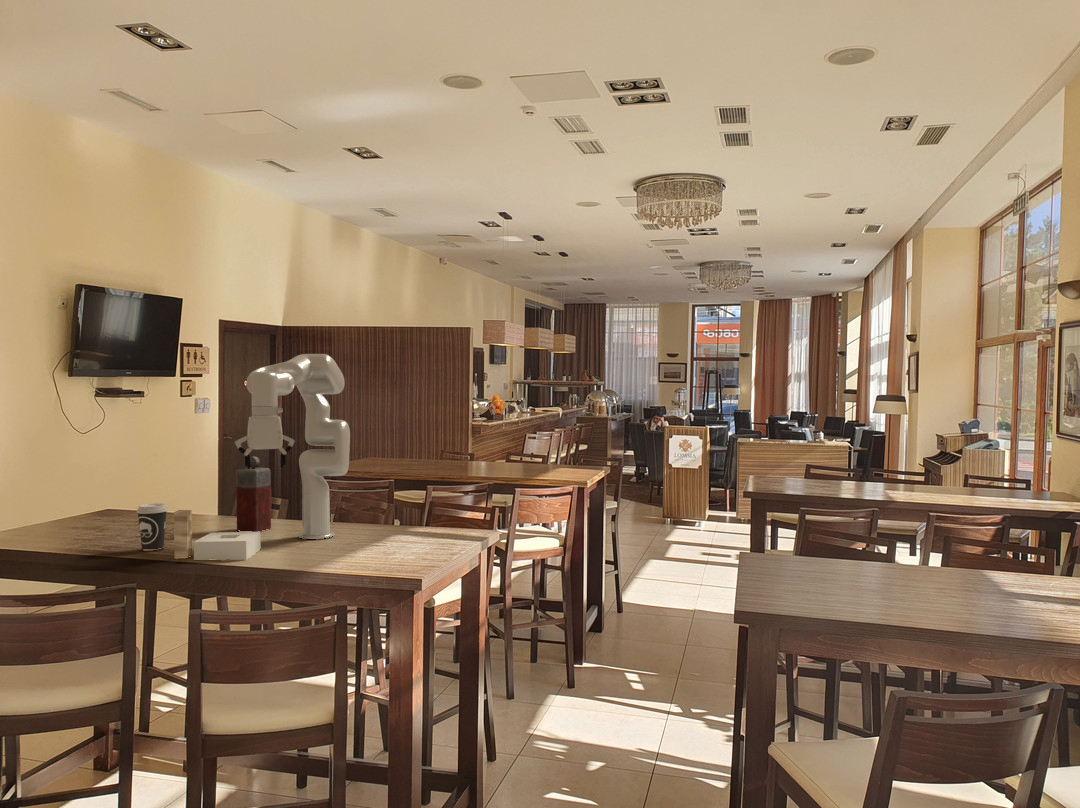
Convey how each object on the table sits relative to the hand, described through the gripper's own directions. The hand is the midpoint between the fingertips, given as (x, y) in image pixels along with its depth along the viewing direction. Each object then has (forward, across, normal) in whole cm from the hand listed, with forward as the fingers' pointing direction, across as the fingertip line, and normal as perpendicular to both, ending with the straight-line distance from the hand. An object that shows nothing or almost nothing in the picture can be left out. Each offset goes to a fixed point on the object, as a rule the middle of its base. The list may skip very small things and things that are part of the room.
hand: (265, 467), depth 241 cm
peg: (+29, +24, -19) cm, 42 cm away
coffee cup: (+30, +35, -36) cm, 58 cm away
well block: (+29, +11, -18) cm, 36 cm away
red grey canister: (+30, +2, -63) cm, 70 cm away
